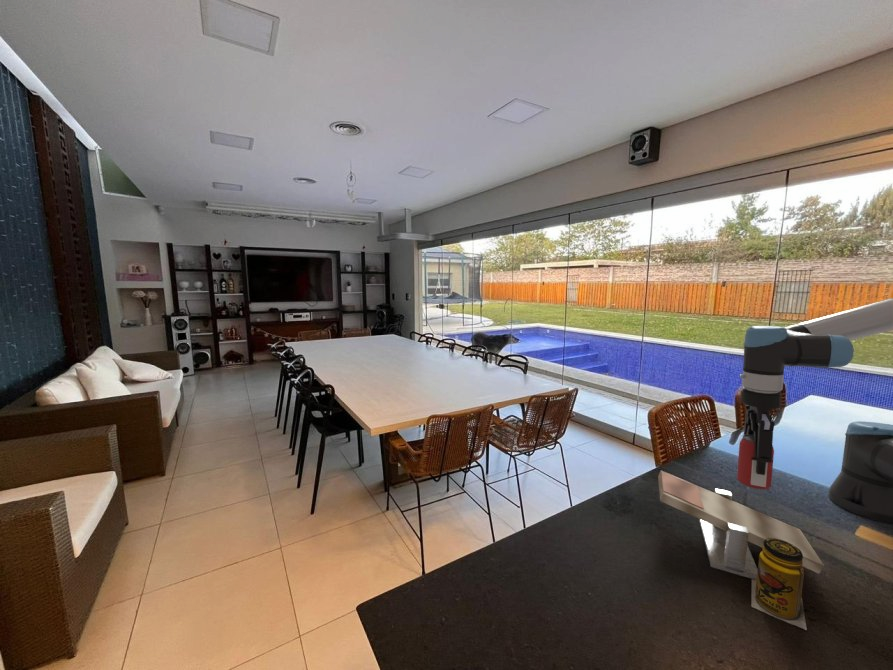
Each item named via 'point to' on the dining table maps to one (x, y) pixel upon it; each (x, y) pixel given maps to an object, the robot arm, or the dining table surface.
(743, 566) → the pivot stand
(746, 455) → the beer can
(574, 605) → the dining table surface
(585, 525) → the dining table surface
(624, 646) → the dining table surface
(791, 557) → the condiment
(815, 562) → the balance beam
